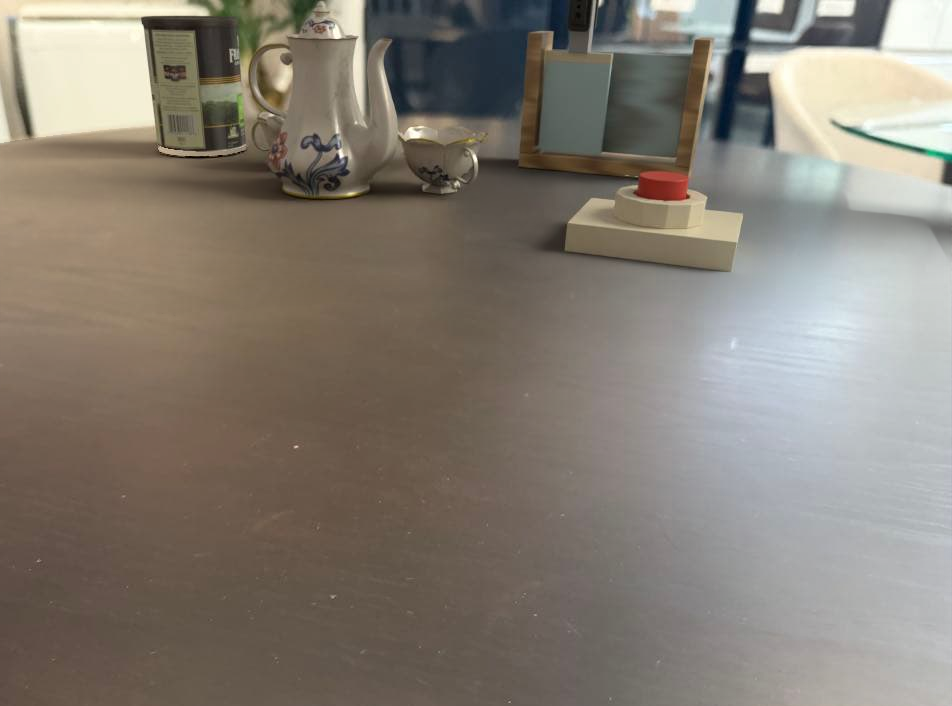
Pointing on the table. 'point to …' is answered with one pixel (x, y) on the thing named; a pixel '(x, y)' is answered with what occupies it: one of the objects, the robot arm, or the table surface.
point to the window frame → (627, 112)
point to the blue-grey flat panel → (575, 96)
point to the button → (662, 186)
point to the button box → (656, 230)
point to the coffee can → (195, 82)
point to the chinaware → (348, 122)
